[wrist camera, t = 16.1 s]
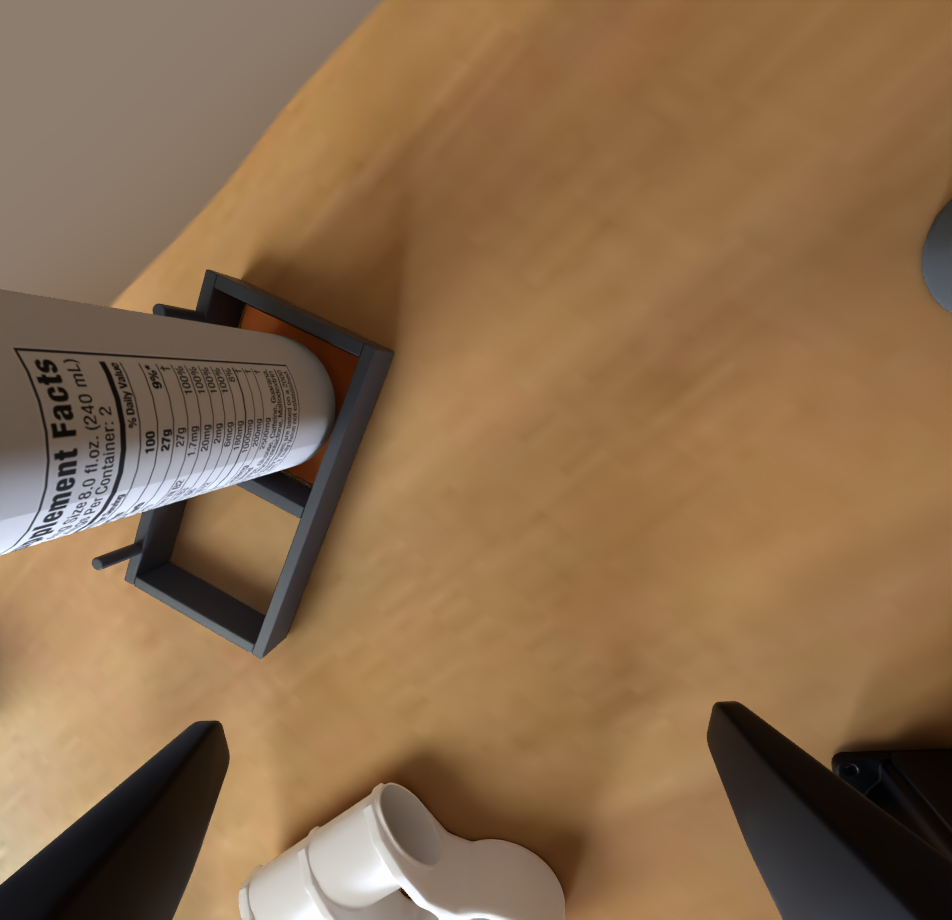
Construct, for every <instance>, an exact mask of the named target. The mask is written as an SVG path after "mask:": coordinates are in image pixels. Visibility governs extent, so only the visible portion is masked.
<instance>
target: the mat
mask: <svg viewBox="0 0 952 920" xmlns="http://www.w3.org/2000/svg"><path fill="white" fill-rule="evenodd" d="M240 329H245V330H252V331H258V332H264V333H270V334H276V335H282V336H285V337H288V338H291V339H294V340H296V341H298V342H299V343H301V344H303V345H304V346H306V347H307V348H308V349H309V350H310V351H312V352H313V353H314V354H315V355H316V356H317V358H318V359H319V360H320V362H321V363H322V364H323V366H324V367H325V369H326V371H327V373H328V375H329V377H330V380H331V383H332V386H333V389H334V395H335V403H336V408H335V420H334V424H333V428H332V431H331V433H330V436H329V438H328V440H327V442H326V443H325V445H324V446H323V447H322V449H321V450H320V451H319V452H318V453H317V454H316V455H315V456H313V457H312V458H311V459H310V460H308V461H306V462H304V463H302V464H300V465H296V466H293V467H290V468H286V469H284V470H286V471H288V472H290V473H291V474H293V475H295V476H297V477H299V478H301V479H303V480H305V481H307V482H309V483H311V484H314V481H315V479H316V476H317V473H318V470H319V468H320V465H321V462H322V459H323V457H324V454H325V451H326V448H327V446H328V443H329V440H330V437H331V435H332V432H333V429H334V426H335V424H336V421H337V418H338V415H339V413H340V410H341V407H342V404H343V402H344V399H345V396H346V393H347V391H348V388H349V385H350V382H351V380H352V377H353V374H354V371H355V369H356V366H357V363H358V360H359V358H360V357H358V356H356V355H354V354H351V353H349V352H347V351H345V350H343V349H341V348H339V347H337V346H335V345H332V344H330V343H328V342H326V341H324V340H322V339H320V338H318V337H316V336H314V335H311V334H309V333H307V332H305V331H303V330H301V329H299V328H297V327H295V326H293V325H290V324H288V323H286V322H284V321H282V320H280V319H278V318H276V317H274V316H271V315H269V314H267V313H265V312H263V311H261V310H259V309H257V308H255V307H253V306H250V305H247V307H246V310H245V314H244V317H243V321H242V324H241V327H240Z"/></svg>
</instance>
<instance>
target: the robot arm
mask: <svg viewBox="0 0 952 920" xmlns="http://www.w3.org/2000/svg"><path fill="white" fill-rule="evenodd" d="M707 742H708V746H709V749H710V752H711V755H712V757H713V760H714V762H715V765H716V768H717V770H718V773H719V775H720V778H721V780H722V783H723V786H724V788H725V791H726V793H727V796H728V798H729V801H730V804H731V806H732V809H733V811H734V814H735V816H736V819H737V822H738V824H739V827H740V829H741V832H742V834H743V836H744V839H745V841H746V844H747V846H748V848H749V850H750V852H751V855H752V857H753V859H754V861H755V863H756V865H757V867H758V869H759V871H760V873H761V875H762V878H763V880H764V882H765V884H766V886H767V888H768V890H769V892H770V894H771V896H772V898H773V900H774V902H775V904H776V906H777V908H778V910H779V912H780V914H781V916H782V919H783V920H952V749H927V750H892V751H857V752H840V753H837V754H836V755H834V757H833V758H832V770H833V772H832V771H830V770H829V769H828V768H826V767H825V766H824V765H822V764H821V763H820V762H818V761H817V760H816V759H814V758H813V757H812V756H810V755H809V754H808V753H806V752H805V751H804V750H803V749H801V748H800V747H799V746H797V745H796V744H795V743H793V742H792V741H791V740H789V739H788V738H787V737H785V736H784V735H783V734H781V733H780V732H779V731H777V730H776V729H775V728H773V727H772V726H771V725H769V724H768V723H767V722H765V721H764V720H763V719H761V718H760V717H759V716H757V715H756V714H755V713H753V712H752V711H751V710H749V709H748V708H747V707H745V706H744V705H742V704H741V703H739V702H736V701H726V702H716V703H715V704H714V705H713V708H712V713H711V717H710V722H709V726H708V731H707ZM229 758H230V755H229V749H228V745H227V741H226V737H225V734H224V730H223V726H222V724H221V723H220V722H219V721H198V722H195V723H193V724H192V725H190V726H189V727H188V728H187V729H185V730H184V731H183V732H182V733H181V734H179V735H178V736H177V737H176V738H175V739H174V740H172V741H171V742H170V743H169V744H168V745H166V746H165V747H164V748H163V749H162V750H160V751H159V752H158V753H157V754H156V755H154V756H153V757H152V758H151V759H150V760H149V761H147V762H146V763H145V764H144V765H143V766H141V767H140V768H139V769H138V770H137V771H135V772H134V773H133V774H132V775H131V776H129V777H128V778H127V779H126V780H125V781H124V782H122V783H121V784H120V785H119V786H118V787H116V788H115V789H114V790H113V791H112V792H110V793H109V794H108V795H107V796H106V797H104V798H103V799H102V800H101V801H100V802H99V803H97V804H96V805H95V806H94V807H93V808H91V809H90V810H89V811H88V812H87V813H85V814H84V815H83V816H82V817H81V818H79V819H78V820H77V821H76V822H75V823H74V824H72V825H71V826H70V827H69V828H68V829H66V830H65V831H64V832H63V833H62V834H60V835H59V836H58V837H57V838H56V839H55V840H53V841H52V842H51V843H50V844H49V845H47V846H46V847H45V848H44V849H43V850H41V851H40V852H39V853H38V854H37V855H35V856H34V857H33V858H32V859H31V860H30V861H28V862H27V863H26V864H25V865H24V866H22V867H21V868H20V869H19V870H18V871H16V872H15V873H14V874H13V875H12V876H10V877H9V878H8V879H7V880H6V881H5V882H3V883H2V884H1V885H0V920H172V919H173V917H174V914H175V912H176V910H177V907H178V905H179V903H180V900H181V898H182V896H183V893H184V891H185V889H186V886H187V884H188V881H189V879H190V877H191V874H192V872H193V869H194V866H195V863H196V861H197V858H198V855H199V852H200V849H201V846H202V843H203V840H204V837H205V834H206V831H207V828H208V825H209V822H210V819H211V816H212V814H213V811H214V808H215V805H216V802H217V799H218V796H219V793H220V790H221V787H222V784H223V781H224V778H225V775H226V772H227V769H228V765H229ZM847 765H851V766H850V767H847V768H844V767H845V766H847Z"/></svg>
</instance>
